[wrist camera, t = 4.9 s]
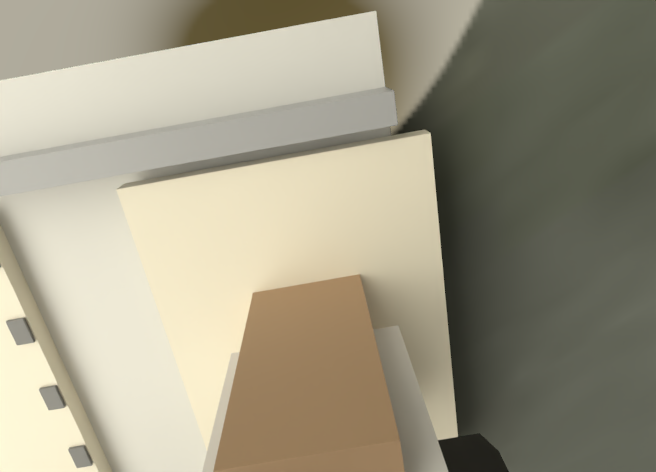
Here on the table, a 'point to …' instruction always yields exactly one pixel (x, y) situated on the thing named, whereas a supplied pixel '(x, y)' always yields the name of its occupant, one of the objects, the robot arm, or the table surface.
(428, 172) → the tabbed cream panel
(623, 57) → the table surface
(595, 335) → the table surface
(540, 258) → the table surface
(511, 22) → the table surface
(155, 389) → the ticket board
